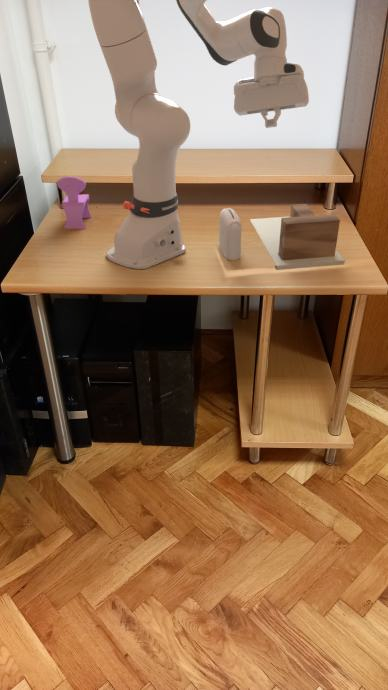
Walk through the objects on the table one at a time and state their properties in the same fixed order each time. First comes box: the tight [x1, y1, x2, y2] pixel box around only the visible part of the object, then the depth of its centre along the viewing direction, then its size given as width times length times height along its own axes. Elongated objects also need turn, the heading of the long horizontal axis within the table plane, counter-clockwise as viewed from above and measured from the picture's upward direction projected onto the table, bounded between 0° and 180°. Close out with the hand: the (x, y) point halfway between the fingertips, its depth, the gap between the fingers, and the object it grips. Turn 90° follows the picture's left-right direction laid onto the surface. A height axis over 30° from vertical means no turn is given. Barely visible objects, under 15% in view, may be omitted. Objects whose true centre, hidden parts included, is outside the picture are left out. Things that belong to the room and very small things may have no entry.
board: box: [249, 216, 345, 271], centre depth 160 cm, size 30×18×1 cm, turn 9°
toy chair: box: [56, 175, 92, 230], centre depth 169 cm, size 8×9×15 cm
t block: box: [279, 203, 341, 260], centre depth 152 cm, size 12×14×10 cm
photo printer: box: [218, 207, 242, 261], centre depth 151 cm, size 10×4×12 cm, turn 11°
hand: (271, 126), depth 157 cm, fingers closed
